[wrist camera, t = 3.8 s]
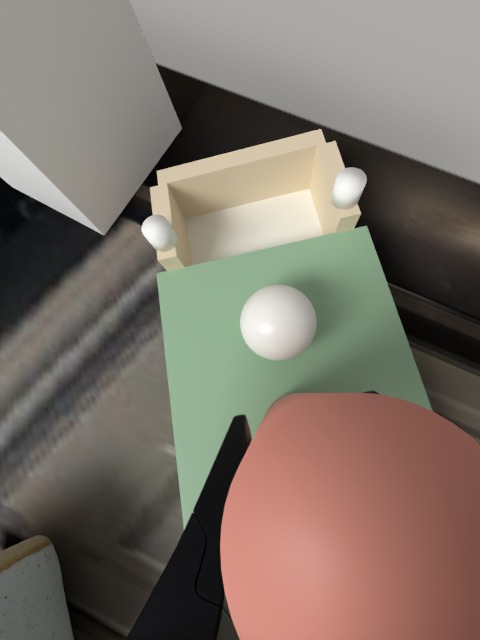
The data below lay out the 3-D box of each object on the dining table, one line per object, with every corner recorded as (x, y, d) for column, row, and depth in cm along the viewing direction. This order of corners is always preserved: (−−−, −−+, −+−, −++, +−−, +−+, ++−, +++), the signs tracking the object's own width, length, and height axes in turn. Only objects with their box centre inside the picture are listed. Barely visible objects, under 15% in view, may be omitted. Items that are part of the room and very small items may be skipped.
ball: (326, 334, 16) (341, 316, 12) (273, 378, 16) (272, 374, 12) (281, 286, 17) (282, 256, 13) (231, 326, 17) (218, 307, 13)
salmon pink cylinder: (353, 438, 15) (641, 606, 3) (295, 488, 14) (375, 877, 3) (302, 378, 16) (374, 337, 4) (247, 424, 15) (164, 513, 4)
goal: (347, 247, 20) (373, 195, 15) (176, 285, 21) (143, 248, 16) (323, 172, 22) (338, 102, 16) (167, 210, 23) (134, 155, 17)
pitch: (460, 556, 15) (495, 586, 12) (206, 591, 16) (194, 625, 13) (356, 244, 20) (366, 225, 18) (169, 286, 21) (156, 273, 19)
